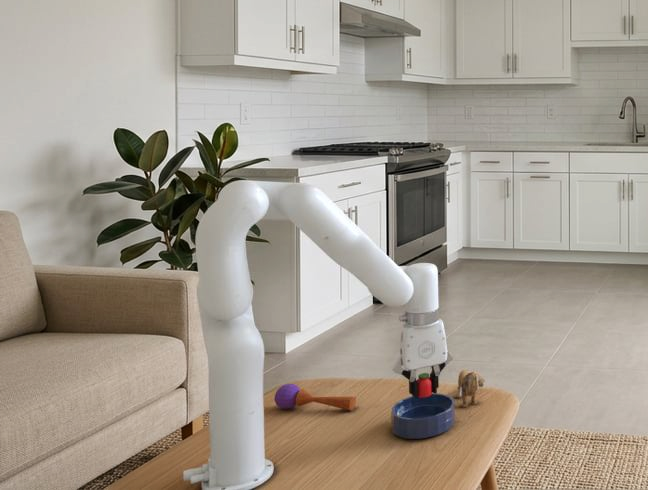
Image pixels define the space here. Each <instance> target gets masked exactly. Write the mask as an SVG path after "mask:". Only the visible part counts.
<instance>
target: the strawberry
mask: <svg viewBox="0 0 648 490" xmlns="http://www.w3.org/2000/svg"><path fill="white" fill-rule="evenodd" d="M417 376H418V378H416V380H417V382H418V397H421V398H422V397H428V396H430V395H432V393H433V391H432V380H431V378H430V373H428V372H422V373H419V374H418V375H417Z"/></svg>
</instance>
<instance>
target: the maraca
mask: <svg viewBox="0 0 648 490" xmlns="http://www.w3.org/2000/svg"><path fill="white" fill-rule="evenodd" d="M274 402H275V405H276V406H277V407H278V408H280V409H281V410H290V409H293V408H295V407H297V408H298V407H299V408H300V407H302V406H305V405H307V404H311V403H318V404H322V405H326V406H330V407H334V408H337V409H338V408H339V409H343V410H346V411H351V412H353V410H354V409H355V407H356V403H357V398H356V396H314V395H312V394H311V393H310V392H308V391H307V390H306V389H305V388H300V387H299V386H298V385H297V384H295V383H285V384H283V385H281V386H280V387H279V388H278V389H277V390H276V391H275V394H274Z"/></svg>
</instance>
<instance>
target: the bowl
mask: <svg viewBox="0 0 648 490" xmlns="http://www.w3.org/2000/svg"><path fill="white" fill-rule="evenodd" d="M455 405H456V404H455V399H454V398H453V397H452V396H450V395H448V394H444V393H440V392H439V393H438V392H437V393H435V394H434V393H432V395H430V396H428V397H422V398H421V397H417V398H414V397H413V396H412V395H410V396H408V397H405V398H402V399H401V400H399V401H397V402H395V404H394V405H393V406H391V411H390V413H391V415H390V418H391V419H390V420H391V422H390V423H391V432H392V433H393V434H394V435H396V436H397V437H399V438H403V439H414V440H415V439H417V440H418V439H427V438H431V437H435V436H438V435H440V434H443V433H445V432H447V431H448V430H450V429H451V428H452V427H453V425H454V424H455V423H456V415H455V413H456V412H455V411H456V410H455Z"/></svg>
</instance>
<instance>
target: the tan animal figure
mask: <svg viewBox="0 0 648 490" xmlns="http://www.w3.org/2000/svg"><path fill="white" fill-rule="evenodd" d="M485 383H486V379H484V378H483V377H482V376H481V375H480V373H479V372H478V371H471V372H470V371H469V370H467V369H463V370H461V371H460V372H459V374H458V380H457V395H456V399H461V398H462V406H461V407H462V408H467V407H468V401H467V400H468V399H467V396H468V397H471V398H470V403H471V404H472V405H477V404H478V401H476V395H477V392H479V390H480V388H484V385H485Z"/></svg>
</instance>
